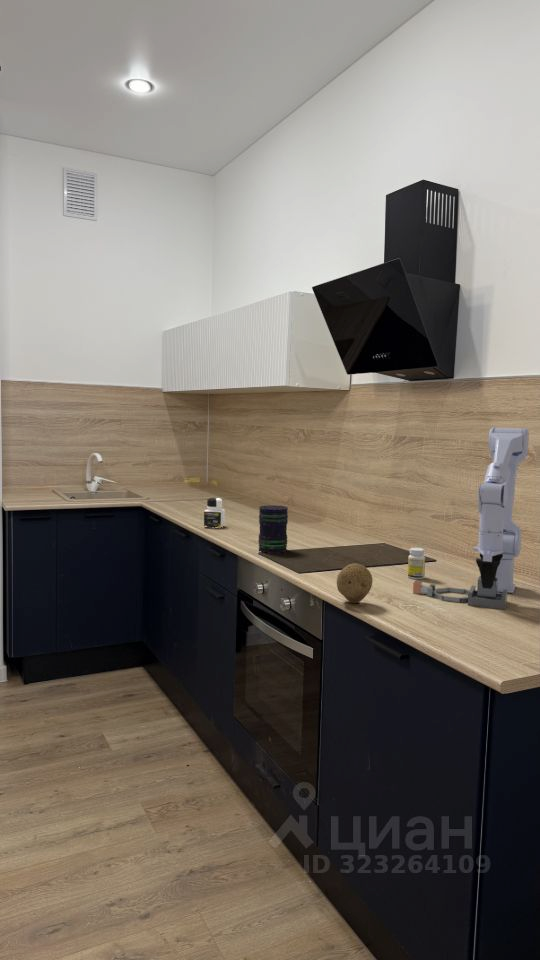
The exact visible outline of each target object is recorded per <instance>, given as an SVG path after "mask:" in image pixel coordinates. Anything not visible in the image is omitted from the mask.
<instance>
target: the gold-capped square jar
mask: <svg viewBox="0 0 540 960" xmlns="http://www.w3.org/2000/svg"><path fill="white" fill-rule="evenodd" d="M497 587H498V578H494V582H493V586H492V588H491V589H488V588H483V587H482V582H481V575H480V576H478V579H477V597H478V598H487V599H497V593H498V591H497Z"/></svg>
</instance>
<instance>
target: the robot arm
mask: <svg viewBox="0 0 540 960" xmlns="http://www.w3.org/2000/svg"><path fill="white" fill-rule="evenodd" d="M529 431H530V430H528V428H526V427H524V428H522V427H521V428H520V427H519V428H517V427H495V426H493V427H491V428H490V430H489V433H488V447H489V451H490V456H491V459H492V460H493V462H491V463H489V464H488V466H487V468H486V472H485V477H484V480H483V483H482V484H479V486H478V491H477V502H478V503H477V504H478V512H479V523H478V525H479V526H478V544H477V546H473V551H474V552H475V551H476V552H477V553H479V557H480V558H479V557H477V558H476V559H475V563H476V565H477V567H478V570H479V575H480V576H481V582H482V587H483V588H488V589H491V588H492V586H493V582H494V578H498V587H497V592H498V593H503V589H507V594H508V593H510V594H514V593H515V590H516V589H515V588H516V584H515V583H514V573H515V572H514V571H515V558H517V557H519V556H520V554H521V548H522V530H521V528H520V526H518V525H517V524H516V523H514V522H513V521H512V520H513V510H514V504H515V503H514V500H515V492H516V483H517V482H516V479H517V471H518V468H519V466H520V463H522V462H524V461H526V459H527V456H528V450H529V438H530V437H529V436H530V434H529Z"/></svg>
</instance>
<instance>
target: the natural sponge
mask: <svg viewBox="0 0 540 960" xmlns="http://www.w3.org/2000/svg"><path fill="white" fill-rule="evenodd" d="M373 581H374V579H373V577H372V573H371V572H370V570H369V569H368V568H367V567H366V566H364V565H362V564H360V563H349V564H348V565H346V566H345V567H343V568H342V569H340V571H339V573H338V575H337V579H336V588H337V591H338V592H339V593H340V594H341V595H342V596H343V598H345V600H347V601H348V602H350V603H352V604H357V603H359V602H361V601H363V599H365V598H366V596H367V595H368V594H369V593H370V590H372V587H373Z"/></svg>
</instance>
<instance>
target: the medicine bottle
mask: <svg viewBox="0 0 540 960" xmlns="http://www.w3.org/2000/svg"><path fill="white" fill-rule="evenodd" d="M206 501H207V502H206V508H207V509H204V511H203V527H204V526H207V527H218V528H221V527H222V528H224V527H225V526H224V525H225V523H226V522H225V521H226V519H225V518H226V514H225V513H226V510H225V508H223V499H222V498H219V497H210V498H207V500H206ZM223 526H224V527H223ZM222 528H221V529H222Z"/></svg>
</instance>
